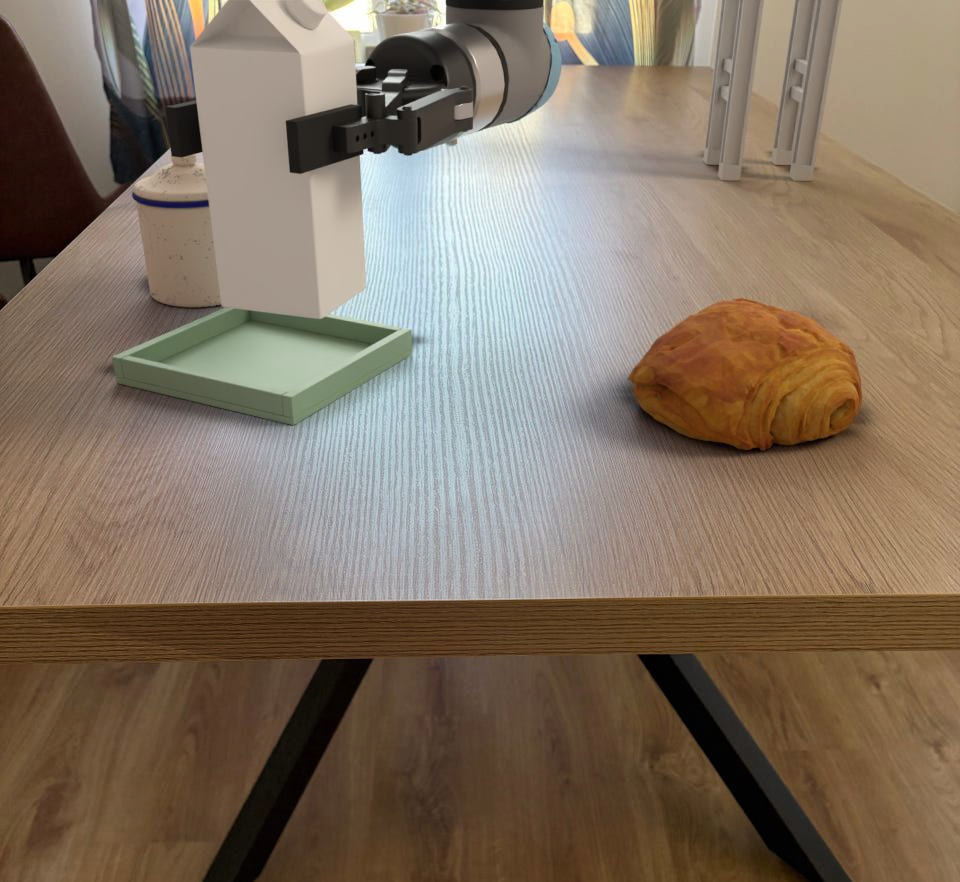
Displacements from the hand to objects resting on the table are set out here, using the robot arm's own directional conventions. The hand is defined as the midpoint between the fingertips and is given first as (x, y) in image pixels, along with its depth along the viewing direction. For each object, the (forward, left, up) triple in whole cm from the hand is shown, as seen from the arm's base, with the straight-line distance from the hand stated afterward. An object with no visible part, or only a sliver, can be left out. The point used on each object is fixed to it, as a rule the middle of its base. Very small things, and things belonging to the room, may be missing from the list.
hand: (231, 139), depth 64 cm
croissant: (+27, +18, -18) cm, 37 cm away
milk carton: (0, +5, -11) cm, 12 cm away
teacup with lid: (-23, +22, -18) cm, 37 cm away
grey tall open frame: (+6, +96, -18) cm, 98 cm away
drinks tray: (-6, +9, -18) cm, 21 cm away
